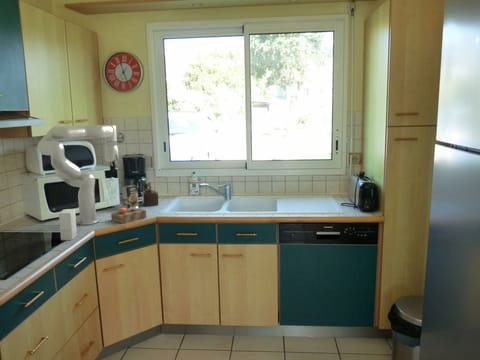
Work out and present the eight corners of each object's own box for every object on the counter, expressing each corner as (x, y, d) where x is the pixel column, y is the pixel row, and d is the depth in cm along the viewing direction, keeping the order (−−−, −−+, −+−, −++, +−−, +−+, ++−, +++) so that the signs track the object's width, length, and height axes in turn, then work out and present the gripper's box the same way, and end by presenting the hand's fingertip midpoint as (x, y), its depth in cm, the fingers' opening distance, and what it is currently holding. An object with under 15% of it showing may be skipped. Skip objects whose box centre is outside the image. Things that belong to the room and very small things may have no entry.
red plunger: (121, 217, 251) (120, 209, 250) (117, 216, 254) (116, 208, 253) (128, 216, 255) (127, 208, 254) (124, 214, 258) (123, 207, 257)
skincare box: (66, 235, 225) (63, 208, 223) (78, 235, 226) (75, 208, 223) (60, 240, 217) (58, 212, 214) (73, 240, 218) (70, 212, 215)
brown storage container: (141, 203, 300) (140, 180, 296) (156, 202, 304) (155, 179, 301) (144, 208, 285) (143, 183, 282) (160, 206, 290) (159, 182, 286)
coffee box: (128, 209, 282) (127, 187, 279) (122, 208, 286) (121, 186, 283) (138, 207, 289) (137, 185, 286) (133, 206, 293) (131, 184, 290)
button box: (121, 223, 248) (121, 216, 247) (111, 220, 256) (111, 212, 255) (146, 217, 261) (146, 210, 260) (136, 214, 269) (135, 207, 268)
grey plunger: (133, 215, 258) (133, 208, 257) (129, 214, 261) (129, 207, 260) (140, 214, 261) (139, 206, 260) (136, 213, 264) (135, 205, 263)
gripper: (100, 143, 265) (102, 171, 268) (111, 145, 255) (113, 173, 258) (110, 142, 270) (112, 169, 274) (122, 144, 260) (124, 172, 263)
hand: (113, 171), depth 266 cm, fingers closed
